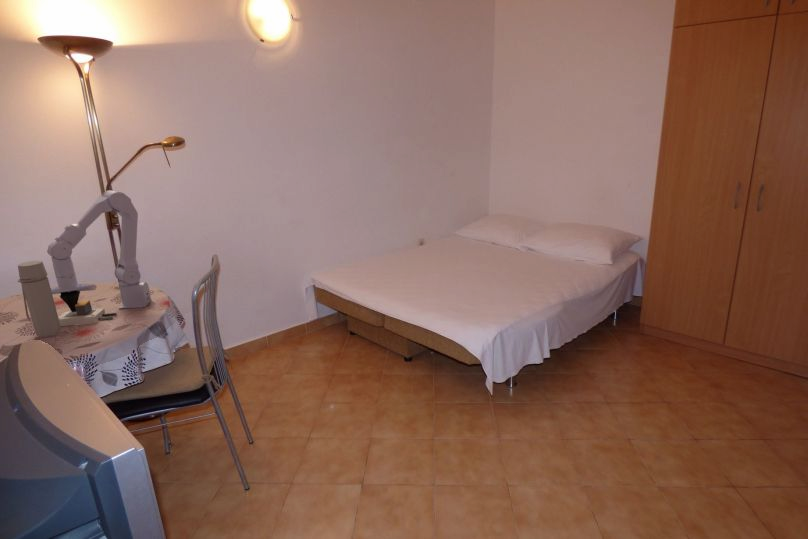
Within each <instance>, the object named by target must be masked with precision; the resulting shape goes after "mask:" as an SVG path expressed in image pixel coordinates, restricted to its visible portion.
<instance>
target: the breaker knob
mask: <svg viewBox="0 0 808 539" xmlns="http://www.w3.org/2000/svg"><path fill="white" fill-rule="evenodd" d="M75 308H76V312H77V315H87V314H88V313H89V312H90V311H92V304H91V300H89V299H88V300H87V299H86V300H80V301H78V303H77V304H76V305H75Z"/></svg>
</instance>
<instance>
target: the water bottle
mask: <svg viewBox="0 0 808 539" xmlns="http://www.w3.org/2000/svg"><path fill="white" fill-rule="evenodd" d="M17 271H18V276H19V279H18V280H17V282H18V283H20V284H21V291H22V296H23V303H24V309H25V315H26V318H27V319H28V322H31V323H32V326H33V330H34V333H35V335H36V337H38V338H44V339H45V338H49V337H53V336H56V335H58V334H59V333H60V332H61V331H62V326H60V322H59V319H58V317H59V314H58V312H57V308H56V305H55V300H54V296H53V294H52V292H51V288H52V287H51V284H50V280H49V277H48V273H47V270H46V267H45V265H44V262H43V261H42V260H31V261H24V262H22V263H19V264H17Z"/></svg>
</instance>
